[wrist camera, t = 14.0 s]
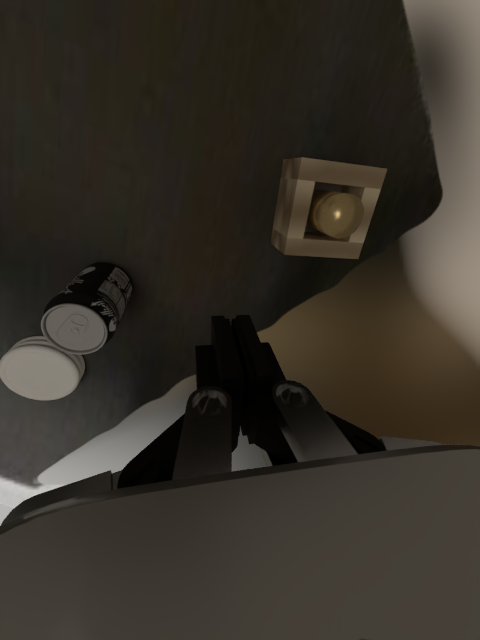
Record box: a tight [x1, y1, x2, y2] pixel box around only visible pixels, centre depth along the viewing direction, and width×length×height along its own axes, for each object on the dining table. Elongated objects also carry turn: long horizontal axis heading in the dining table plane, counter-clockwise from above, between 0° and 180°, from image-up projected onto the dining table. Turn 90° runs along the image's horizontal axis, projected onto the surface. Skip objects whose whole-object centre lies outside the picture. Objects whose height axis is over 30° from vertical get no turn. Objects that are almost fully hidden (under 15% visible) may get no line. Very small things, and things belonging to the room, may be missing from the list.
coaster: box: [0, 336, 85, 400], centre depth 38 cm, size 10×10×4 cm
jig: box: [271, 157, 387, 259], centre depth 32 cm, size 10×10×6 cm
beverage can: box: [41, 263, 132, 355], centre depth 30 cm, size 7×7×12 cm
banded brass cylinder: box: [306, 189, 364, 239], centre depth 31 cm, size 4×4×8 cm
